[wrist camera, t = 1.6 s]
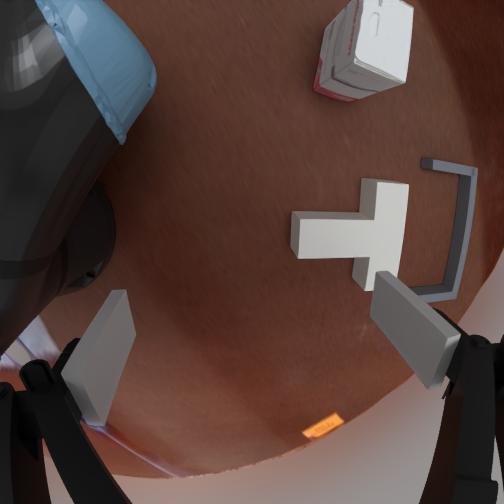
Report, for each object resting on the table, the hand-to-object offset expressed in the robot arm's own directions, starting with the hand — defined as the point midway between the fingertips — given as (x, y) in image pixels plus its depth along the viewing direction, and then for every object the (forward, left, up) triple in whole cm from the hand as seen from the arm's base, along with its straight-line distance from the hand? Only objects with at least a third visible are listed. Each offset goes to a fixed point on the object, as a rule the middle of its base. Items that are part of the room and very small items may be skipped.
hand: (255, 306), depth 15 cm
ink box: (+11, +18, -19) cm, 28 cm away
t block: (+12, -1, -19) cm, 22 cm away
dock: (+27, -1, -19) cm, 32 cm away
